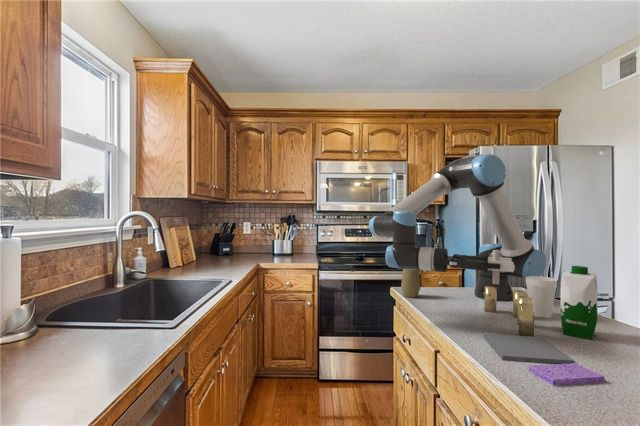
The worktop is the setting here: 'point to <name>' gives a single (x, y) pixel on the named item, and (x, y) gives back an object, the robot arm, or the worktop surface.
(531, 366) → the sponges
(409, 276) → the squeeze bottle
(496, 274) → the pipe connector
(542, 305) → the foam cup
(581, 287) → the milk carton
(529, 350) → the rubber mat
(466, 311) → the worktop surface
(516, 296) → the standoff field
